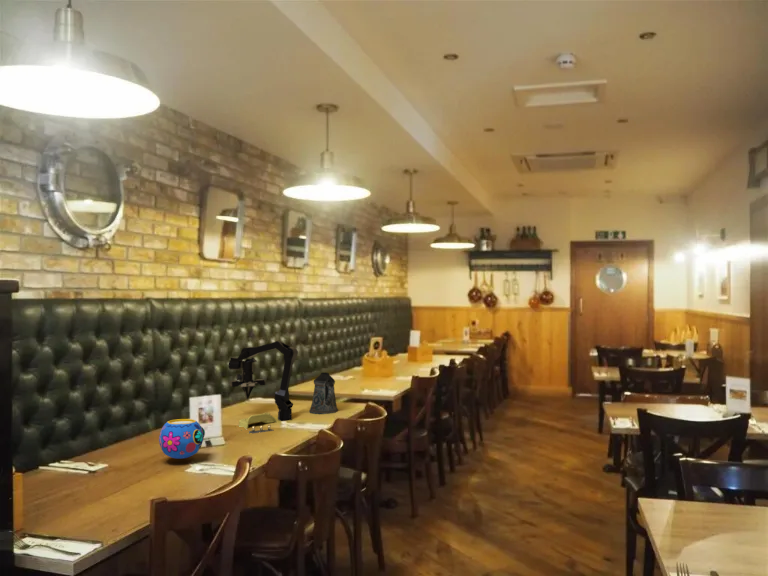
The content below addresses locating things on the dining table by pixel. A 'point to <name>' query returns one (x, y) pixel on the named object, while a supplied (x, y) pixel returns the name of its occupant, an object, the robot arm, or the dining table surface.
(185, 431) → the ceramic pot
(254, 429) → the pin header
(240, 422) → the plastic component
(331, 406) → the beer stein
